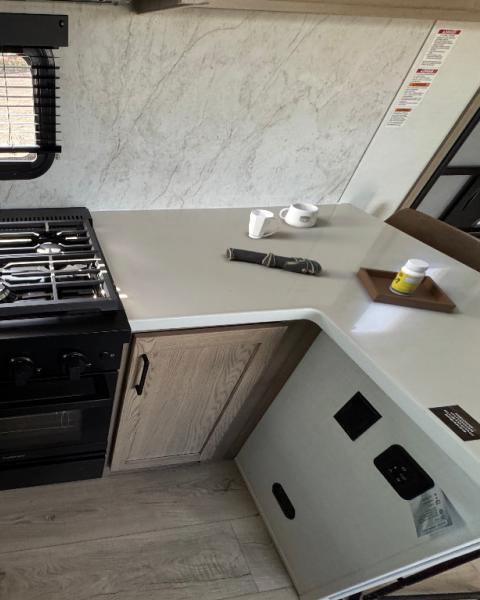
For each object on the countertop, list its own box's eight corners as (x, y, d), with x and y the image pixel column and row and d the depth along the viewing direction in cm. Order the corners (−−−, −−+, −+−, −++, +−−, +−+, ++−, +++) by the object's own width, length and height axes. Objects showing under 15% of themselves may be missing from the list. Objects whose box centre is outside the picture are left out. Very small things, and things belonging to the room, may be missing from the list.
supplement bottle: (388, 284, 91) (406, 256, 86) (411, 289, 88) (430, 261, 83) (388, 292, 88) (406, 264, 83) (412, 298, 85) (432, 269, 80)
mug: (310, 219, 127) (316, 203, 123) (317, 229, 119) (324, 213, 116) (274, 215, 129) (280, 200, 126) (279, 226, 122) (285, 209, 118)
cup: (242, 231, 119) (248, 208, 114) (272, 233, 118) (280, 210, 113) (246, 240, 113) (253, 216, 109) (278, 242, 112) (287, 218, 107)
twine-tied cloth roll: (225, 251, 100) (324, 269, 91) (228, 240, 103) (325, 257, 94) (222, 262, 103) (318, 281, 94) (226, 251, 106) (319, 268, 97)
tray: (424, 284, 91) (429, 276, 90) (450, 314, 81) (456, 305, 80) (356, 274, 96) (360, 267, 94) (372, 302, 85) (377, 294, 84)
